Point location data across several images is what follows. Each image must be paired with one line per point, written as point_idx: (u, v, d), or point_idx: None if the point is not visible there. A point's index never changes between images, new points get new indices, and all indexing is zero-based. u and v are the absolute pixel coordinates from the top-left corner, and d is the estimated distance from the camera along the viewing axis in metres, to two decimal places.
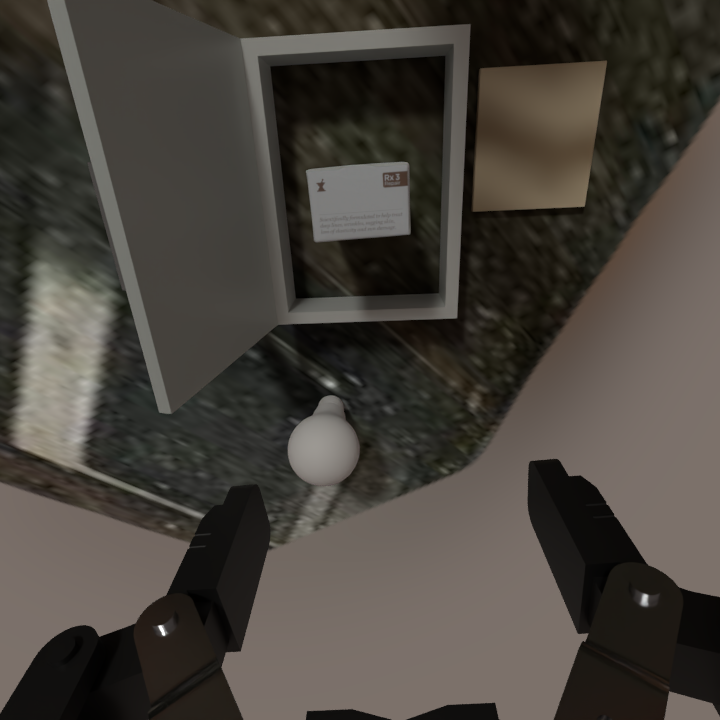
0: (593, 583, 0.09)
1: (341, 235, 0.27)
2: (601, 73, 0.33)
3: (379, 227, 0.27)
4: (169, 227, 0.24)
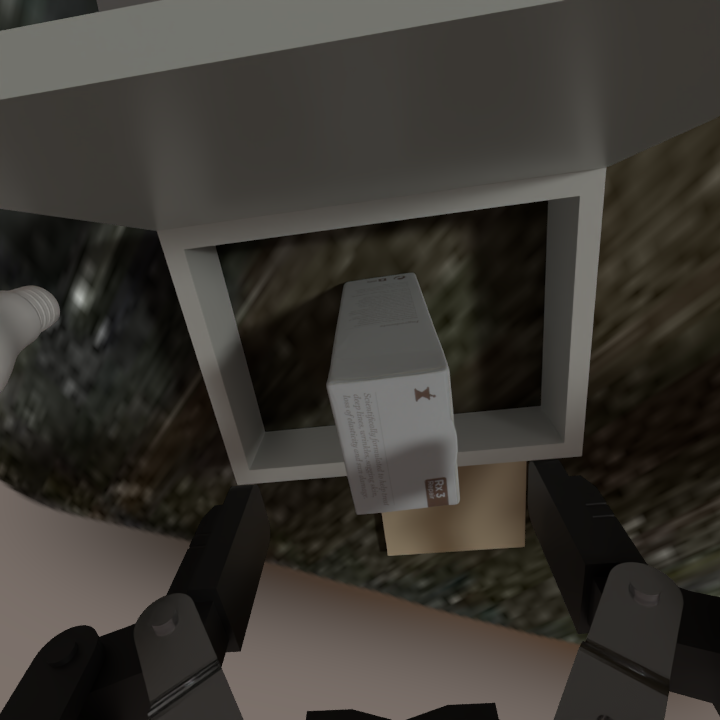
0: (593, 583, 0.09)
1: (344, 427, 0.15)
2: (513, 545, 0.33)
3: (363, 478, 0.16)
4: (328, 125, 0.09)
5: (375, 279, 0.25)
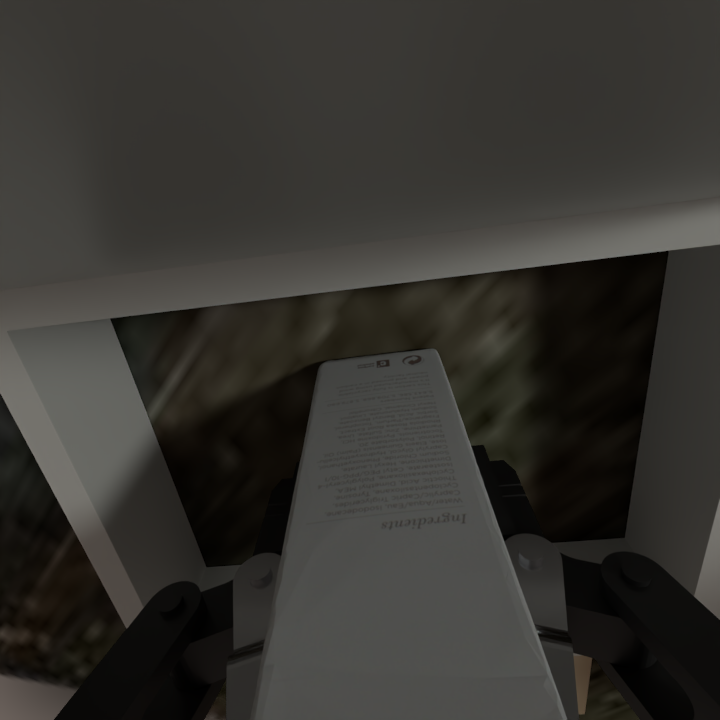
0: None
1: None
2: None
3: None
4: None
5: (371, 361, 0.15)
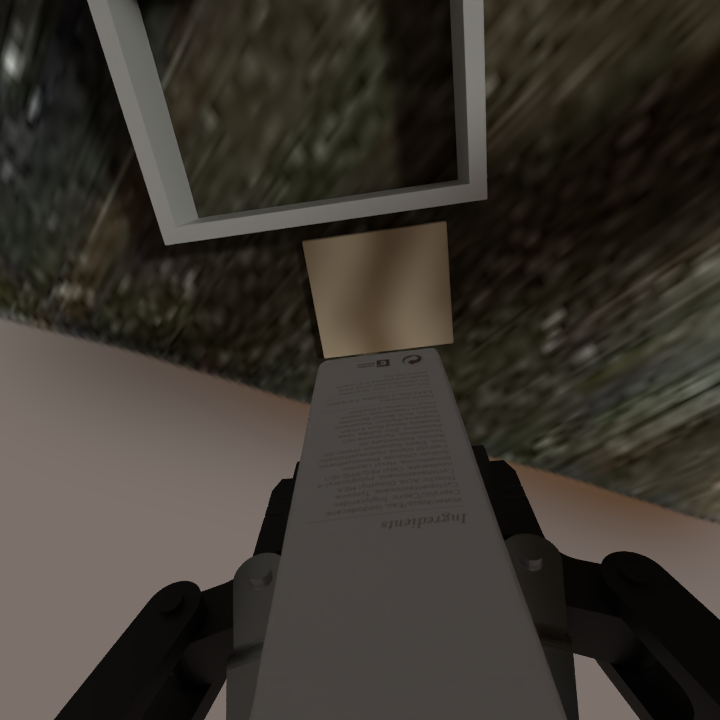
0: None
1: None
2: (443, 341, 0.34)
3: None
4: None
5: (371, 360, 0.15)
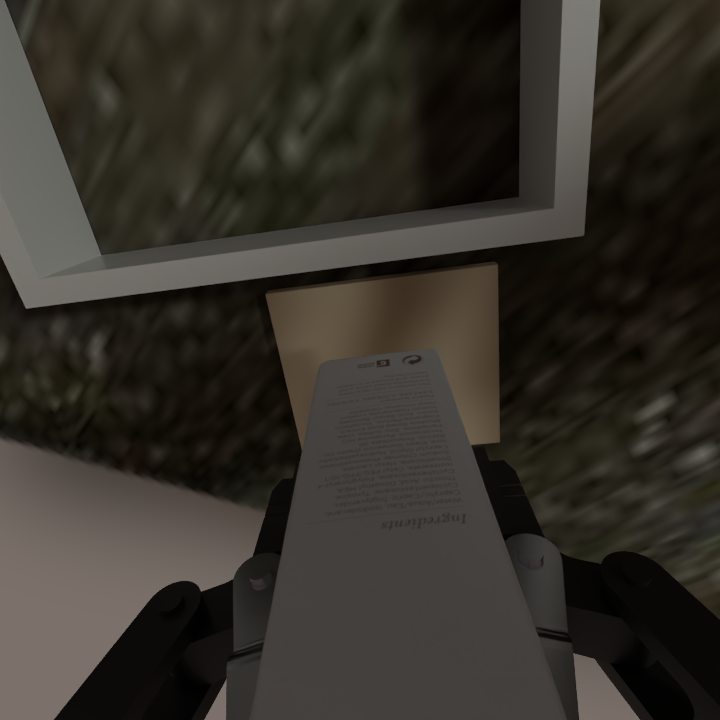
0: None
1: None
2: (484, 439, 0.22)
3: None
4: None
5: (371, 360, 0.15)
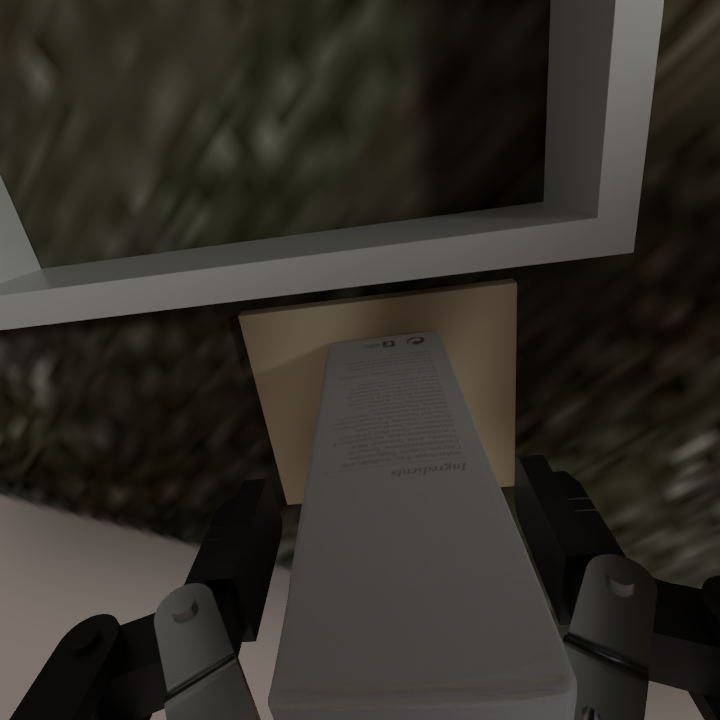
0: (572, 575, 0.10)
1: None
2: None
3: None
4: None
5: (377, 341, 0.16)
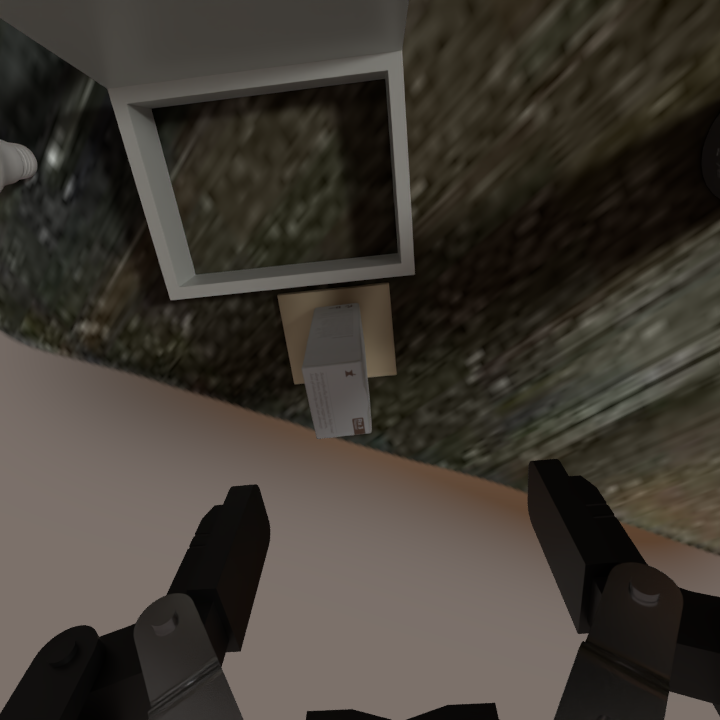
0: (593, 583, 0.09)
1: (310, 390, 0.30)
2: (388, 373, 0.43)
3: (320, 418, 0.31)
4: None
5: (334, 306, 0.40)
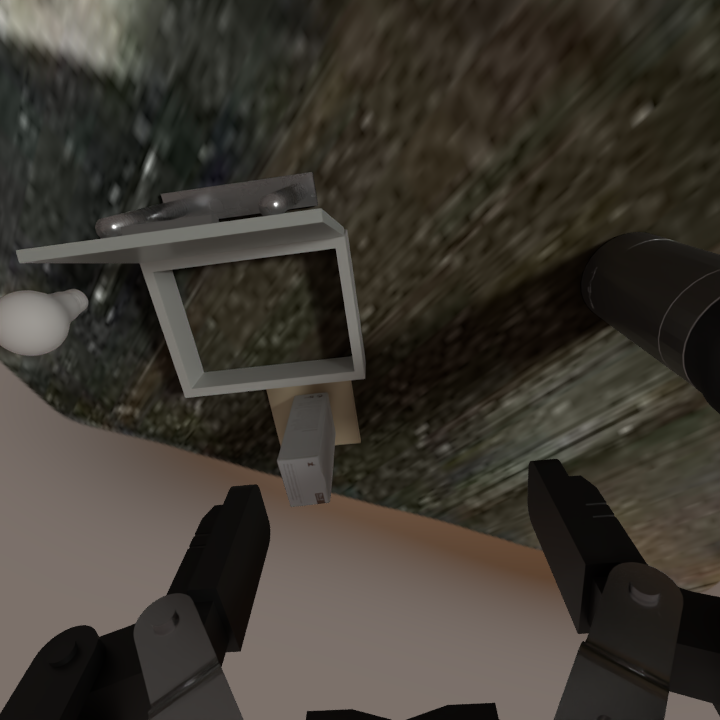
0: (593, 583, 0.09)
1: (283, 474, 0.43)
2: (354, 441, 0.55)
3: (292, 493, 0.44)
4: (184, 245, 0.32)
5: (308, 396, 0.52)
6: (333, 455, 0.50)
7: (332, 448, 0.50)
